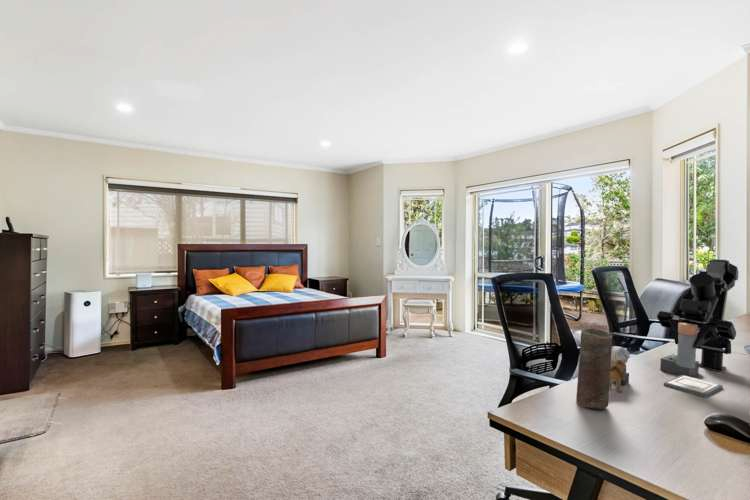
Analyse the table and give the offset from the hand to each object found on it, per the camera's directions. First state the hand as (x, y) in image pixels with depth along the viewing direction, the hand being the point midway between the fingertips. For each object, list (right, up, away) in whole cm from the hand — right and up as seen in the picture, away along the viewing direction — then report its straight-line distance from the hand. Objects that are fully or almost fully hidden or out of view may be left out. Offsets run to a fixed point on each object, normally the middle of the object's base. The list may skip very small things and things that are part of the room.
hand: (684, 345), depth 116 cm
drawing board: (+2, -13, 0) cm, 13 cm away
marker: (+1, -7, +1) cm, 7 cm away
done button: (+9, -9, +13) cm, 19 cm away
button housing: (+9, -12, +13) cm, 20 cm away
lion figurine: (-28, -12, -5) cm, 31 cm away
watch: (-20, -12, +2) cm, 23 cm away
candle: (-38, -12, -16) cm, 43 cm away
